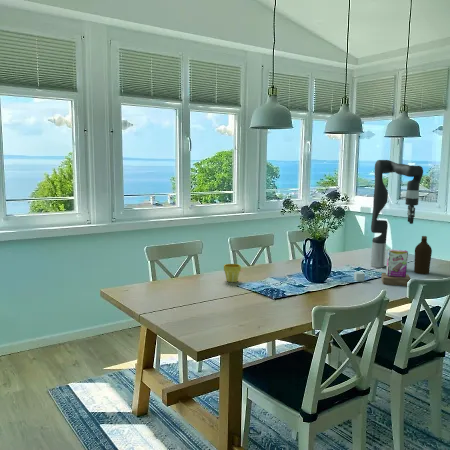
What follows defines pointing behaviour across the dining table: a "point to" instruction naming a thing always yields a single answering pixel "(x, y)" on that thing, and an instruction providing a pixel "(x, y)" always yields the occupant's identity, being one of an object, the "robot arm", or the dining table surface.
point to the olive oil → (422, 257)
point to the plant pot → (232, 272)
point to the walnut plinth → (395, 280)
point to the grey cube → (359, 276)
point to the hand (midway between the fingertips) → (410, 222)
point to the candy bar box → (396, 263)
